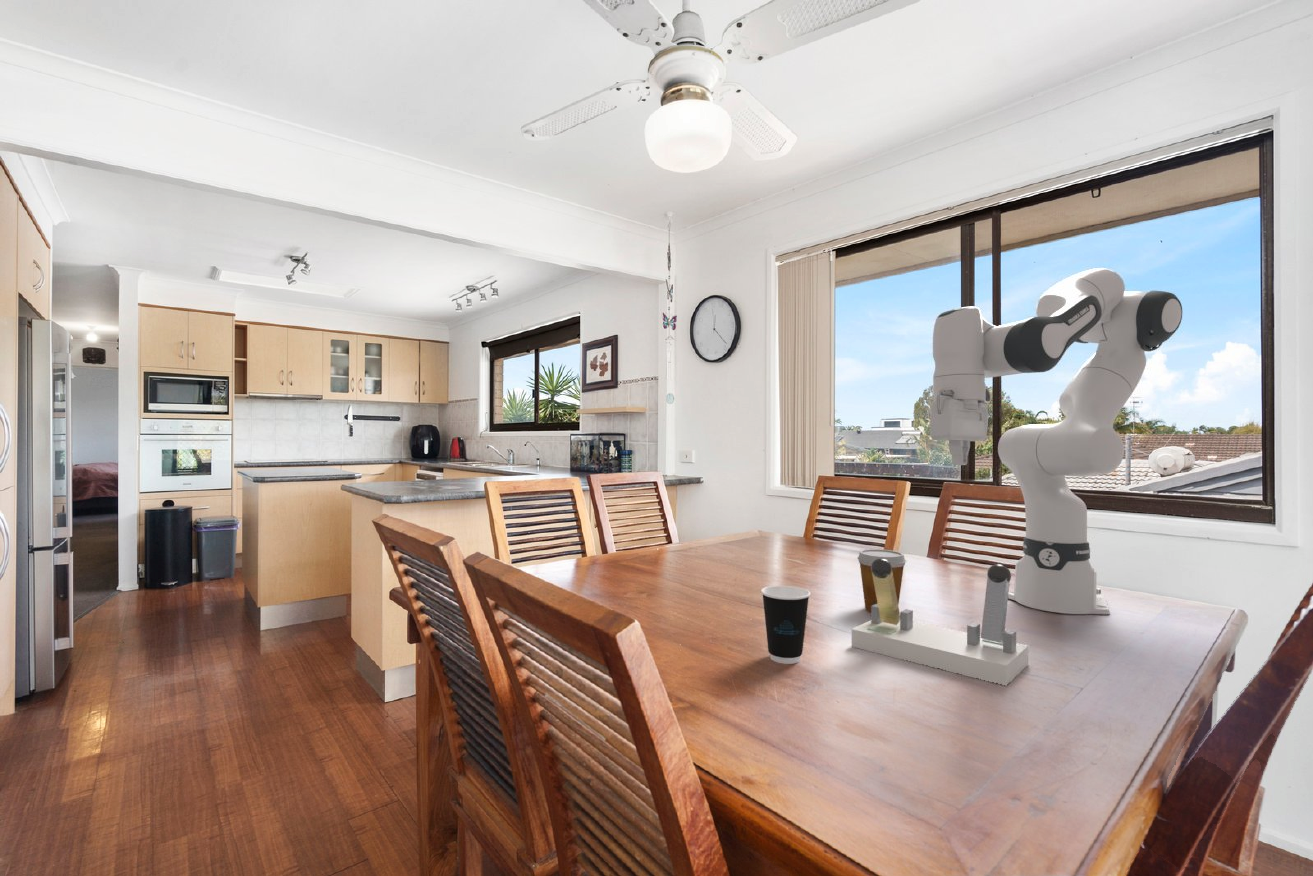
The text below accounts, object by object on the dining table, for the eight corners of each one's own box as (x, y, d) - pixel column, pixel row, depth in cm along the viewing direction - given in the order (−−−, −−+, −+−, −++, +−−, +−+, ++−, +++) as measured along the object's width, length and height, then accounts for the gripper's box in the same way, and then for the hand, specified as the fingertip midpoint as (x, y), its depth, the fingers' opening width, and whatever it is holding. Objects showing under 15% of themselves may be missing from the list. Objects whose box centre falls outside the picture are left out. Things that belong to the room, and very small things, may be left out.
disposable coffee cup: (913, 617, 124) (913, 557, 124) (865, 617, 124) (865, 557, 124) (895, 604, 133) (895, 548, 133) (851, 604, 134) (851, 548, 134)
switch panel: (881, 631, 115) (882, 598, 115) (1028, 664, 99) (1028, 626, 99) (851, 646, 107) (851, 611, 107) (1006, 686, 90) (1006, 644, 90)
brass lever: (885, 613, 111) (874, 553, 108) (904, 617, 109) (893, 556, 105) (877, 624, 109) (866, 563, 105) (896, 628, 106) (885, 566, 103)
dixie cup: (779, 670, 96) (780, 599, 96) (751, 654, 103) (751, 588, 103) (820, 663, 99) (821, 594, 99) (790, 647, 106) (790, 583, 106)
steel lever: (983, 639, 100) (991, 565, 103) (1006, 644, 98) (1014, 568, 101) (977, 637, 98) (985, 560, 101) (1000, 642, 96) (1009, 563, 99)
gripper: (956, 387, 108) (957, 466, 108) (993, 394, 123) (994, 464, 122) (920, 389, 113) (921, 465, 112) (960, 396, 127) (961, 464, 127)
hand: (959, 465), depth 118 cm, fingers closed
